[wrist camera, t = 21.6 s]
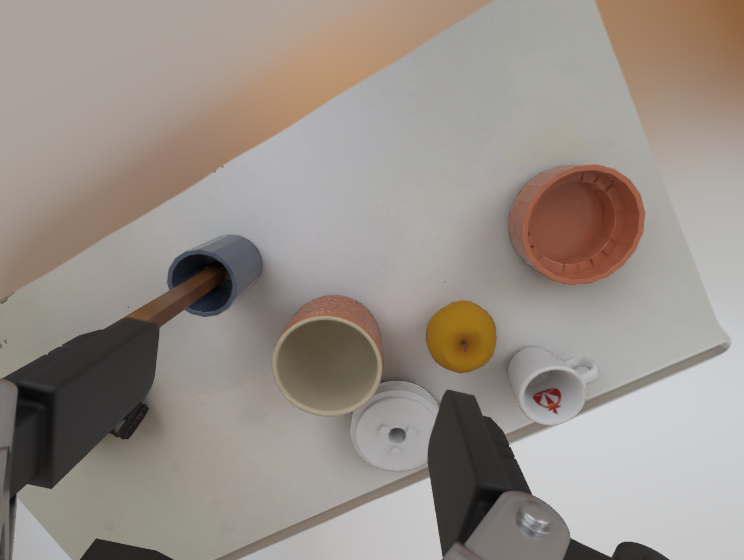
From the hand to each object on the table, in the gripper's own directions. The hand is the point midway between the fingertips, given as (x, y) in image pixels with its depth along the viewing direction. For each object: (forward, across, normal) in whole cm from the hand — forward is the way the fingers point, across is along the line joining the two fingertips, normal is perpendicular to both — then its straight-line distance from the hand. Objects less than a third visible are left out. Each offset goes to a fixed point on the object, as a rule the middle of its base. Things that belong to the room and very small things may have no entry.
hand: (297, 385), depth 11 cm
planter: (+42, 0, +16) cm, 45 cm away
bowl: (+42, -24, -5) cm, 49 cm away
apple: (+42, -15, +11) cm, 46 cm away
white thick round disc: (+42, -11, +27) cm, 51 cm away
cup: (+42, -28, +14) cm, 53 cm away
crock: (+42, +15, +10) cm, 46 cm away
